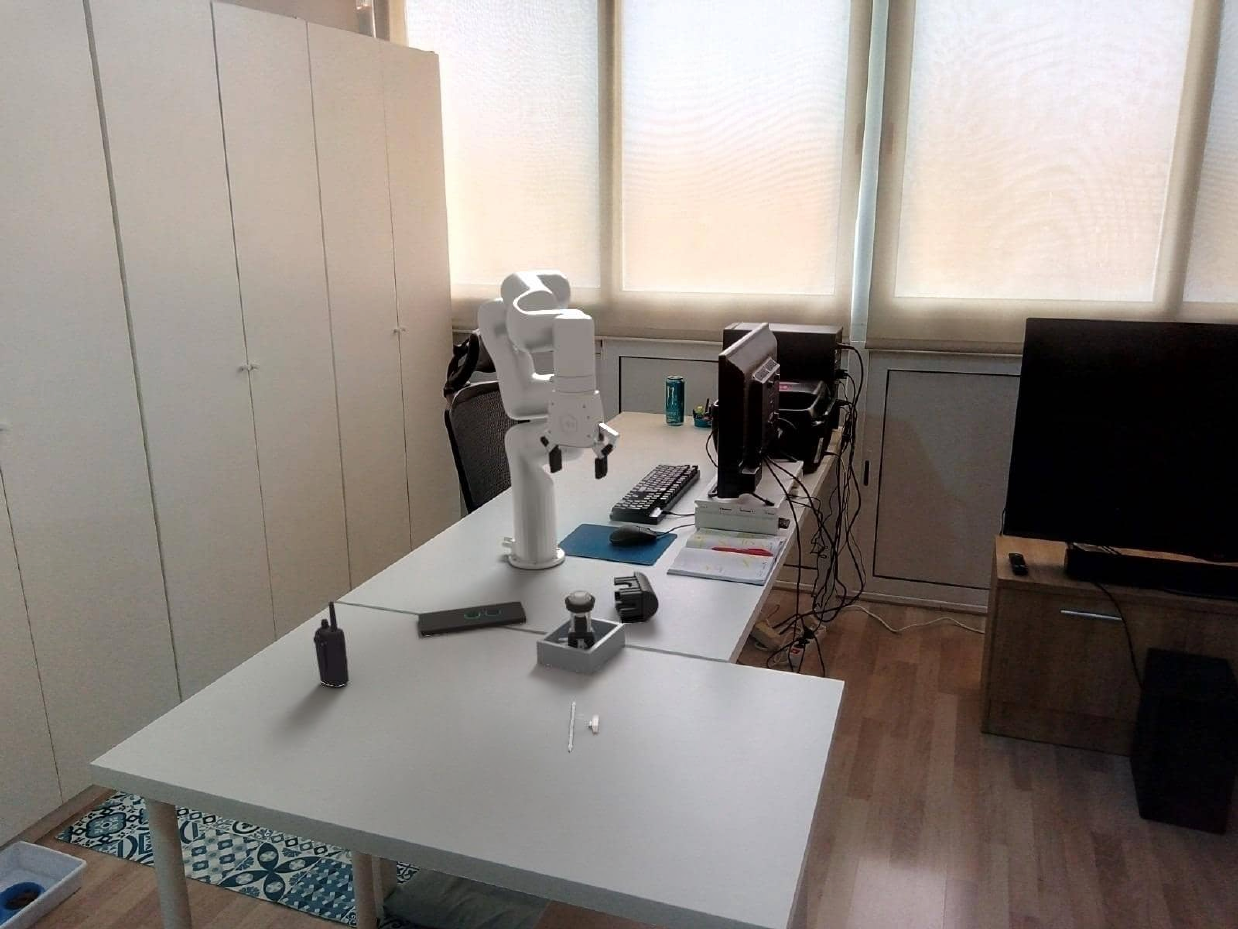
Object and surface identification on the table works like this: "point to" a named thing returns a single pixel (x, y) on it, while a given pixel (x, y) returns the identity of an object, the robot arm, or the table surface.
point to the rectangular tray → (581, 660)
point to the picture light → (593, 723)
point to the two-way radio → (331, 651)
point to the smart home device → (471, 618)
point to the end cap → (635, 599)
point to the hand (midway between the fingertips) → (578, 474)
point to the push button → (580, 620)
